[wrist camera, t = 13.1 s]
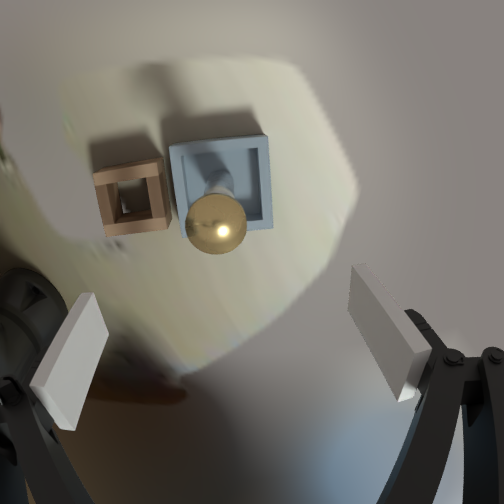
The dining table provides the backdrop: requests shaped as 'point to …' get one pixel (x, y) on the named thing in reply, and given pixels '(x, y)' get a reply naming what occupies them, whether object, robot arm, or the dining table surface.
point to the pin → (216, 217)
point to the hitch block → (111, 202)
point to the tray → (233, 161)
